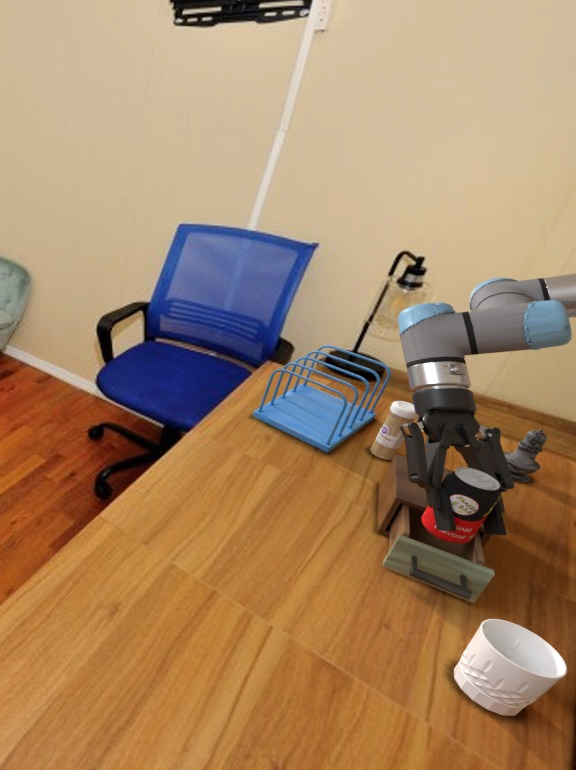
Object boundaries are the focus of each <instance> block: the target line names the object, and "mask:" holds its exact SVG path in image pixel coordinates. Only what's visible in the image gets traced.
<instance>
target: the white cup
mask: <svg viewBox="0 0 576 770" xmlns="http://www.w3.org/2000/svg"><path fill="white" fill-rule="evenodd" d="M567 673H568V666H567V663H566V661H565V660H564V658H563V657H562V655H561V654H560V653H559V652H558V651H557V650H556V649H555V647H554V646H552V645H551V644H550V643H549V642H547V641H546V640H545V639H543V638H542V637H541V636H539V635H538V634H536V633H534V632H533V631H531V630H529V629H527V628H525V627H523V626H522V625H519V624H517V623H513V622H511V621H509V620H504V619H499V618H488V619H485V620H483V621H482V622H481V623H480V625H479V627H478V628H477V630H476V632H475V633H474V634H473V636H472V637H471V639H470V641H469V642H468V644H467V646H466V647H465V649H464V651H463V653H462V654H461V657H460V659H459V661H458V662H457V664H456V665H455V667H454V668H453V679H454V680H455V682H456V684H457V685H458V687H459V688H460V690H461V691H462V692H463V693H464V694H465V695H466V696H467V697H469V698H470V699H471V701H473V702H474V703H476V704H477V705H479V706H481V707H482V708H484V709H486V710H487V711H488V712H489V711H490V712H493V713H494V714H498V715H501V716H505V717H507V716H508V717H509V716H510V717H516V715H518V714H519V713H520V712H522V710H523V709H525V708H526V707H528V706H530V705H532V704H533V703H534V702H535V701H537V700H538V699H540V697H542V696H543V695H545V694H546V693H547V692H548V691H549V690H550V689H551V688H552V687H553V686H554V685H556V684H557V683H558V682H559V681H561V680H562V679H563V678H564V677H565V676H566V675H567Z"/></svg>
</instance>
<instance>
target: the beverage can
mask: <svg viewBox="0 0 576 770" xmlns="http://www.w3.org/2000/svg"><path fill="white" fill-rule="evenodd" d="M453 471H454V472H452V473H449V474H448V475H446V476H445V478H444V480H443V481H442V484H441V487H440V488H447V489H448V492H449V496H450V501H451V506H452V511H453V516H454V521H455V525H456V530H457V531H444V530H437V527H436V522H435V517H434V512H433V508H430V507H429V506H428V507H427V509H426V510H425V512H424V514H423V515H422V518H421V520H422V523H423V525H424V526H425V528H426V529H427V530H428V531H429V532H430V533H431V534H432V535H434V536H435V537H437V538H439V539H441V540H444V541H447V542H450V543H467V542H469V541H471V540H472V538H473V537H474V535H475V534H476V532H477V531H478V529H479V528H480V526H481V525H482V523H483V522H484V520H485V519H486V517H487V516H488V514H489V513H490V511H491V510H492V508H493V507H494V505H495V504H496V502H497V501H498V500H499V497H500V494H499V490H498V489H499V488H500V484H499V482H498V481H497V480H496V479H494V478H493V477H491V476H490V475H488V474H486V473H484V472H481V471H479V470H476V469H472V468H469V467H468V466H467V467H466V466H460V467H457V468H455V470H453Z"/></svg>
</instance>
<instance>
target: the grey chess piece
mask: <svg viewBox="0 0 576 770" xmlns="http://www.w3.org/2000/svg"><path fill="white" fill-rule="evenodd" d="M546 441H548V435H547V434H545V433H544V429H543V428H539V429H538V430H529V431H528V432H527V433H526V435H525V436H524V437H523V439H522V440H520V441H517V444H518V446H517V447H516V448H515V450H514V451H503V452H504V455H505V458H506V461H507V464H508V467H509V470H510V473H511V476H512V479H513V481H516V482H520V483H528V482H530V481H531V477H530V475H532V474H534V473H536V471H539V470H541V468H542V467H541V465H540V463H539V462H537V461H536V457H537V456H538V454H539V453H542V452H543V448H542V447H543V446H544V444H545V443H546Z"/></svg>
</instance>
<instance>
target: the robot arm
mask: <svg viewBox="0 0 576 770" xmlns="http://www.w3.org/2000/svg"><path fill="white" fill-rule="evenodd" d="M468 304H469V309H470V311H460V312H459V311H458V312H456V310H455V309H454V307H453V305H451V304H449V303H447V302H435V303H434V302H433V303H432V302H426V303H420V304H414V305H412V306H409V307H406V308H404V309H403V310H401V312H399V313H398V316H397V324H398V331H399V339H400V344H401V349H402V353H403V356H404V357H403V358H404V362H405V367H406V372H407V379H408V384H409V389H410V391H411V392H414V393H413V394H412V395H411V397H412V398H411V399H412V404H413V405H414V409H415V412H416V414H418V416H417V420H416V422H415V421H413V422H412V423H407V424H402V425H400V430H401V432H402V434H403V436H404V438H405V439H404V447H405V456H406V457H407V468H408V478H409V481H410V482H412V483H417V484H418V486H419V487H420V488H424V489H425V493H426V498H427V503H428V506H429V507H430V508H433V512H434V517H435V522H436V527H437V530H444V531H457V530H456V525H455V521H454V516H453V511H452V506H451V501H450V496H449V492H448V489H447V488H440V487H441V484H442V478H443V472H444V468H445V466H446V460H447V453H448V450H449V449H450V447H453V448H454V449H455V451H456V452H458V453H459V454H460V456H461V457H462V459H463V461H464V462H465V464H466V466H467V468H472V469H476V470H479V471H481V472H484V473H486V474H488V475H490V476H491V477H493V478H494V479H496V480H497V481H498V482H499V484H500V488H499V489H498V490H499V494H500V497H499V500H498V501H497V502H496V504H495V505H494V507H493V508H492V510H491V511H490V513H489V514H488V516H487V517H486V519H485V520H484V522H483V526H484V530H485V534H490V535H492V536H508V535H507V530H506V525H505V522H504V517H503V514H505V512H506V508H505V504H504V500H503V496H502V493H507V492H508V490H513V489H514V488H515V482H514V480H513V479H512V476H511V473H510V470H509V467H508V464H507V461H506V458H505V455H504V452H505V451H504V449H503V446H502V444H501V437H502V435H501V434H502V431H501V429H500V428H499V427H497V426H495V427H486V426H483V425H481V424H480V423H479V421H478V420H477V419H476V417H475V414H476V412H477V404H476V400H475V396H474V392H473V391H472V390H471V389H470V388H471V387H472V382H471V380H470V374H469V370H468V367H467V361H466V358H465V356H476V355H486V354H496V353H506V352H508V353H509V352H519V351H528V350H529V351H531V350H532V351H537V350H539V351H540V350H542V349H546V348H547V349H548V348H555V347H562V346H565V345H567V344H569V343H570V342H571V340H572V336H573V335H572V325H571V322H570V321H571V320H570V319H572V318H573V319H574V318H576V273H569V274H562V275H556V276H548V277H540V278H531V279H523V280H517V279H514V278H510V277H494V278H489V279H486V280H484V281H482V282H480V283H478V284H477V285H476V286H475V287H474V288H473V289H472V291H471V292H470V295H469V303H468ZM423 433H424V434H425V435H426V439H425V438H424V434H423Z"/></svg>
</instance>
